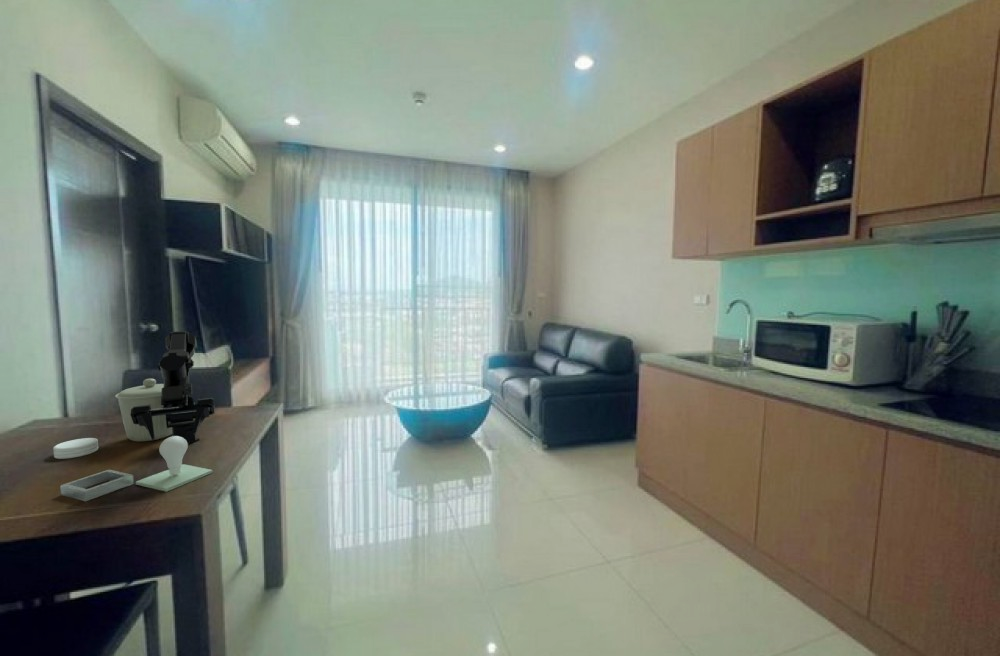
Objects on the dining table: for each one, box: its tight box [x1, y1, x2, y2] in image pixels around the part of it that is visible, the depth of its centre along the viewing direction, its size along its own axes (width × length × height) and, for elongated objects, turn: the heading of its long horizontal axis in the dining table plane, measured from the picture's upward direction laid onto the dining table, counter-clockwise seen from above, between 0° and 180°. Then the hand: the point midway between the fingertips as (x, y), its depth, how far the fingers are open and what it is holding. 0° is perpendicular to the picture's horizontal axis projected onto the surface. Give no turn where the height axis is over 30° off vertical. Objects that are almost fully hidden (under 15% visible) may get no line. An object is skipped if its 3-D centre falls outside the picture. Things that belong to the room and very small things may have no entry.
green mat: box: [135, 463, 214, 493], centre depth 112 cm, size 12×12×1 cm
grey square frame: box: [59, 469, 134, 502], centre depth 106 cm, size 10×10×2 cm
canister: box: [114, 378, 172, 442], centre depth 144 cm, size 18×18×21 cm
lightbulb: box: [158, 435, 189, 476], centre depth 112 cm, size 6×6×11 cm
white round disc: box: [52, 437, 100, 460], centre depth 130 cm, size 10×10×4 cm
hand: (174, 436), depth 114 cm, fingers open, 9 cm apart
